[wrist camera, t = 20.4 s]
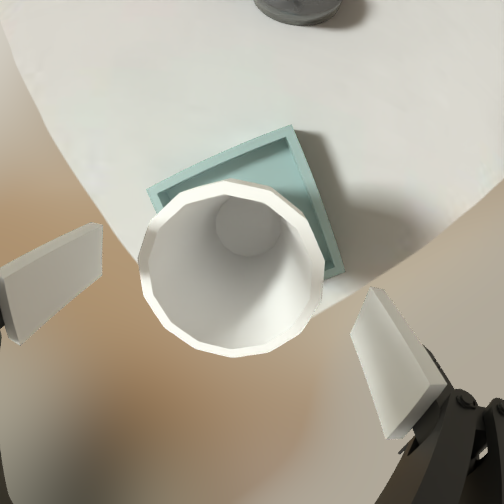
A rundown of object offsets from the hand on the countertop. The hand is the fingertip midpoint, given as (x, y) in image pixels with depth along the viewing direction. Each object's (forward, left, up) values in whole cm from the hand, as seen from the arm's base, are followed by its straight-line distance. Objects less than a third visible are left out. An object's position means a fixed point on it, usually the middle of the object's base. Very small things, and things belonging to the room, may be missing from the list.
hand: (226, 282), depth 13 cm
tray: (0, 0, -15) cm, 15 cm away
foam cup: (0, 0, -14) cm, 14 cm away
